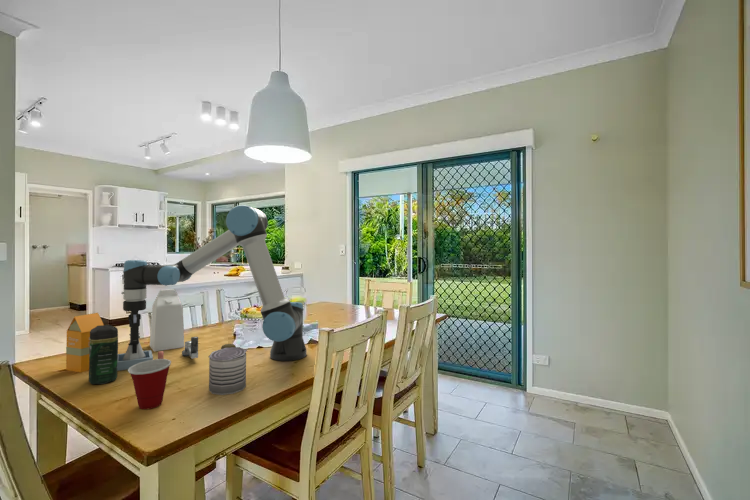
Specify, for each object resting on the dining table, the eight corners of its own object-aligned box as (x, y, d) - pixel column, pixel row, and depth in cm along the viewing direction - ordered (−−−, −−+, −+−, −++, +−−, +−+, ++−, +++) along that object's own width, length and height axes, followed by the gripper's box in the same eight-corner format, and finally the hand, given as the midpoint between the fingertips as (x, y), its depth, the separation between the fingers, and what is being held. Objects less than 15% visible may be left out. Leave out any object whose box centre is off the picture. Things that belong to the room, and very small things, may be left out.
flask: (149, 356, 147) (149, 331, 147) (136, 362, 140) (136, 336, 140) (132, 356, 148) (132, 331, 148) (118, 361, 140) (118, 335, 140)
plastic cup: (120, 407, 106) (120, 365, 106) (159, 395, 115) (159, 356, 115) (138, 417, 100) (138, 373, 100) (178, 403, 109) (178, 363, 109)
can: (253, 386, 123) (253, 350, 123) (222, 398, 113) (223, 359, 113) (231, 379, 129) (232, 345, 129) (201, 389, 120) (201, 352, 120)
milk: (178, 341, 177) (179, 287, 177) (184, 347, 169) (185, 290, 168) (149, 345, 170) (150, 289, 170) (153, 351, 161) (154, 291, 161)
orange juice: (65, 370, 136) (66, 315, 135) (90, 363, 144) (91, 311, 144) (81, 372, 133) (81, 317, 133) (105, 365, 142) (106, 313, 141)
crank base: (198, 355, 157) (198, 351, 157) (182, 357, 153) (182, 353, 153) (196, 351, 162) (196, 348, 162) (181, 353, 158) (181, 350, 158)
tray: (152, 365, 142) (153, 357, 142) (114, 371, 135) (114, 362, 135) (151, 357, 152) (151, 350, 152) (115, 362, 145) (115, 354, 145)
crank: (184, 349, 158) (184, 331, 158) (194, 348, 160) (194, 330, 160) (189, 359, 145) (189, 338, 145) (200, 357, 147) (200, 337, 147)
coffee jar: (118, 382, 125) (119, 327, 125) (88, 387, 120) (89, 330, 120) (116, 374, 132) (117, 322, 132) (88, 378, 128) (89, 324, 127)
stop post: (163, 362, 146) (163, 352, 146) (157, 363, 145) (158, 352, 145) (163, 361, 148) (163, 351, 148) (157, 361, 147) (157, 351, 147)
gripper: (123, 297, 150) (122, 353, 150) (123, 304, 133) (122, 367, 133) (145, 296, 154) (144, 350, 154) (147, 302, 137) (146, 364, 137)
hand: (134, 358), depth 144 cm, fingers closed on flask, 8 cm apart
